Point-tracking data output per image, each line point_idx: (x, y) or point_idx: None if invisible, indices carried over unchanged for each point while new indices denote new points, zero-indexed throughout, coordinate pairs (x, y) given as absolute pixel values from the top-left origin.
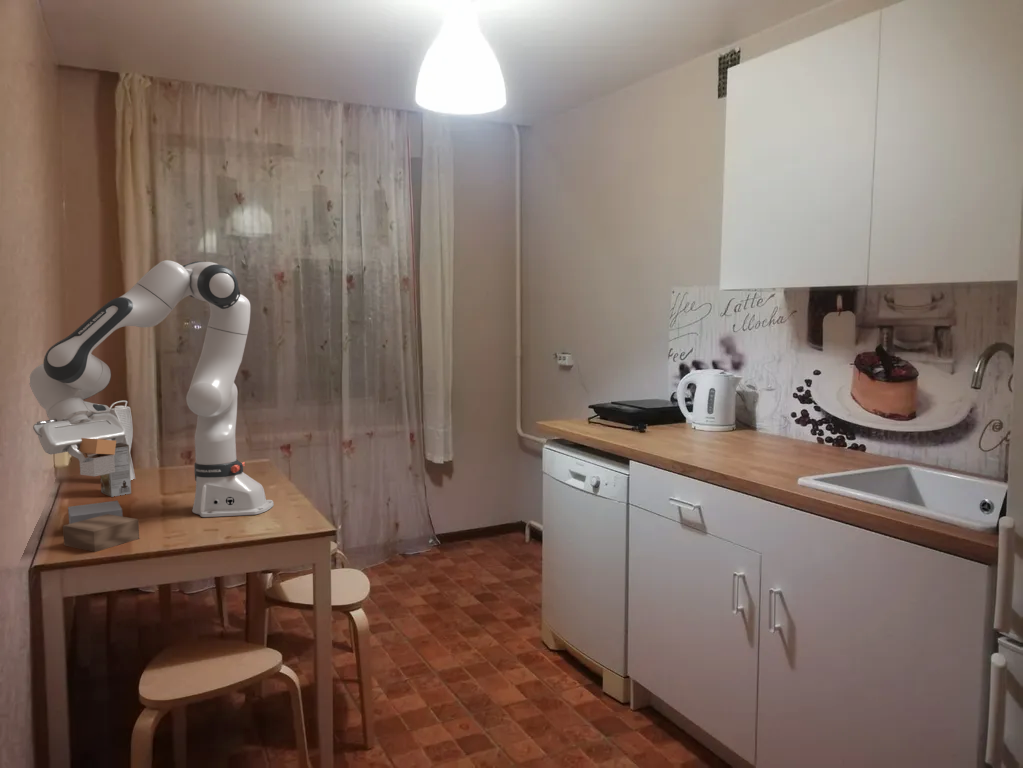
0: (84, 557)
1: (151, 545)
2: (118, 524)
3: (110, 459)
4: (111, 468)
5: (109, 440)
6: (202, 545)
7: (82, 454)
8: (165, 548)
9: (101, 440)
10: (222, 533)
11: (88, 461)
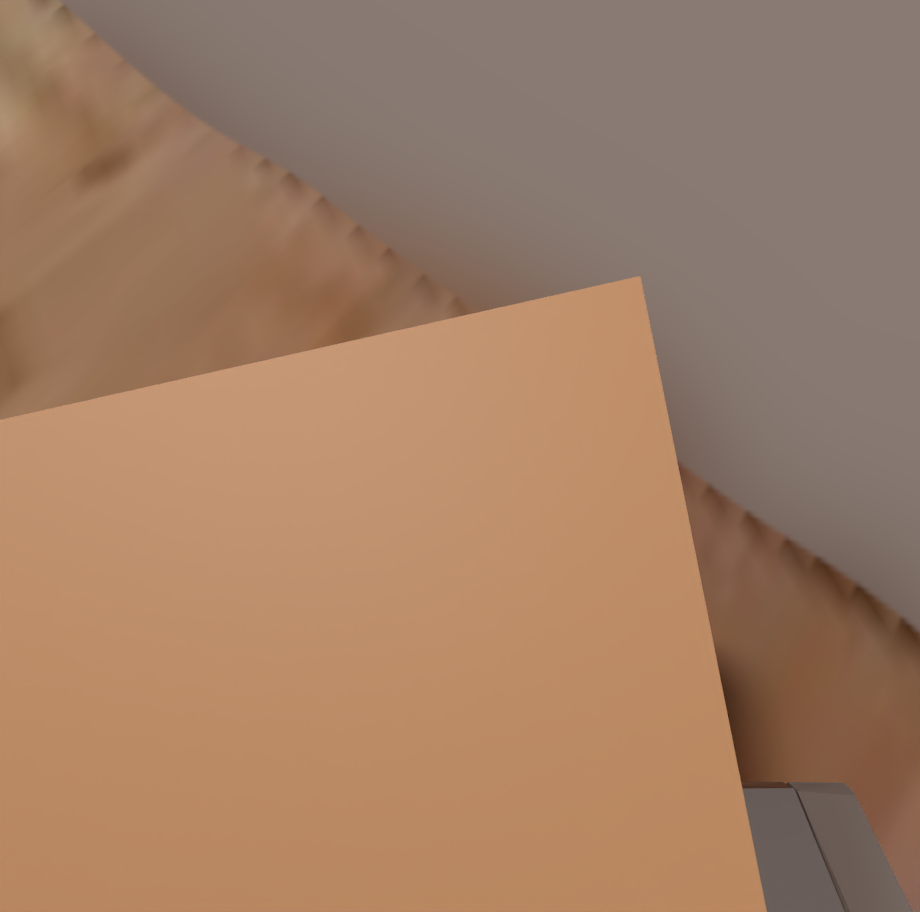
0: (743, 573)
1: None
2: None
3: None
4: None
5: (46, 412)
6: (275, 170)
7: (863, 903)
8: (395, 294)
9: (426, 351)
10: (48, 245)
11: None
